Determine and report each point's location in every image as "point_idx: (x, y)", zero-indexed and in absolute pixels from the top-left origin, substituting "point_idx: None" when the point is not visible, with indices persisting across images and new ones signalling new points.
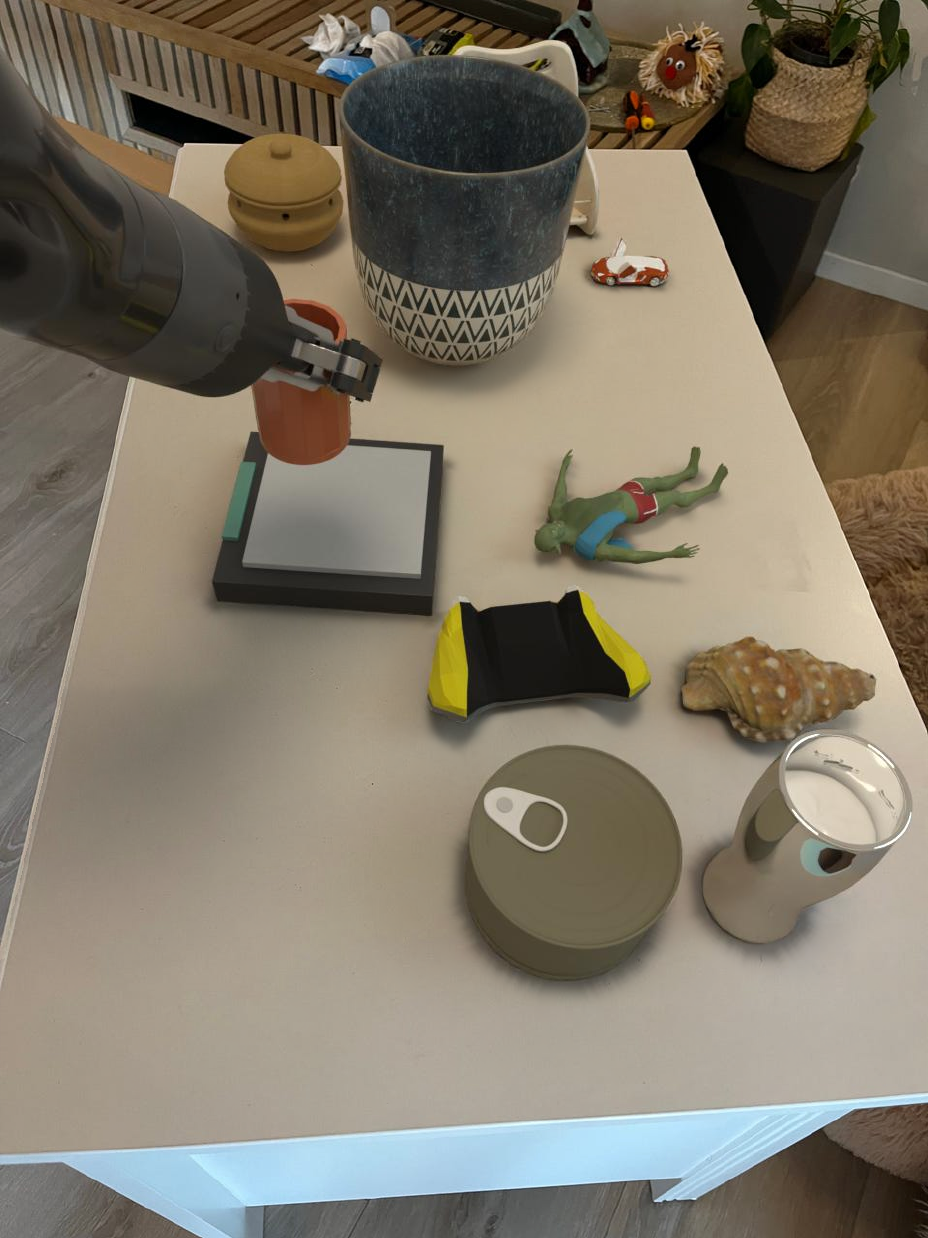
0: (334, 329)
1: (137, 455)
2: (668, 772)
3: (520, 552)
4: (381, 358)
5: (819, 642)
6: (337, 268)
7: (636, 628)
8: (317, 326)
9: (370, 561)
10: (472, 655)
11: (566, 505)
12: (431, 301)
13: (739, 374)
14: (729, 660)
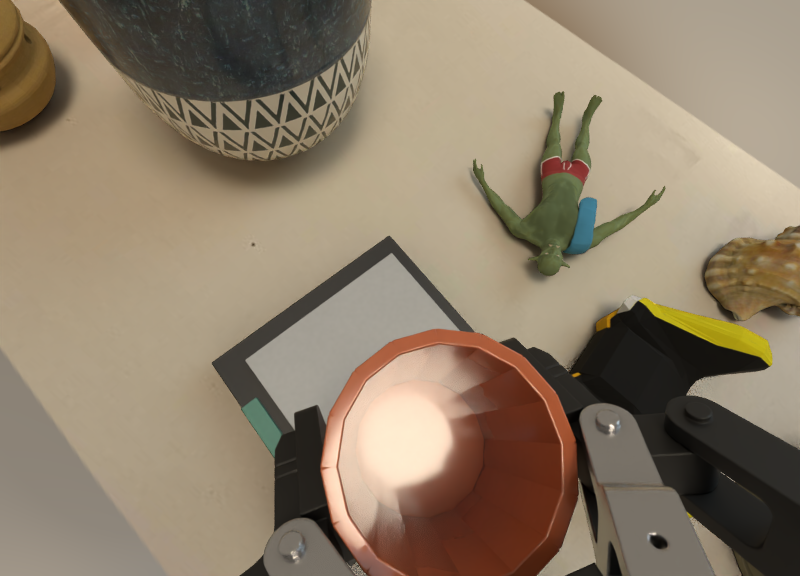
0: (465, 354)
1: (112, 469)
2: (772, 380)
3: (519, 281)
4: (741, 417)
5: (741, 194)
6: (97, 107)
7: (646, 279)
8: (703, 551)
9: None
10: None
11: (533, 219)
12: (292, 105)
13: (498, 4)
14: (783, 274)
